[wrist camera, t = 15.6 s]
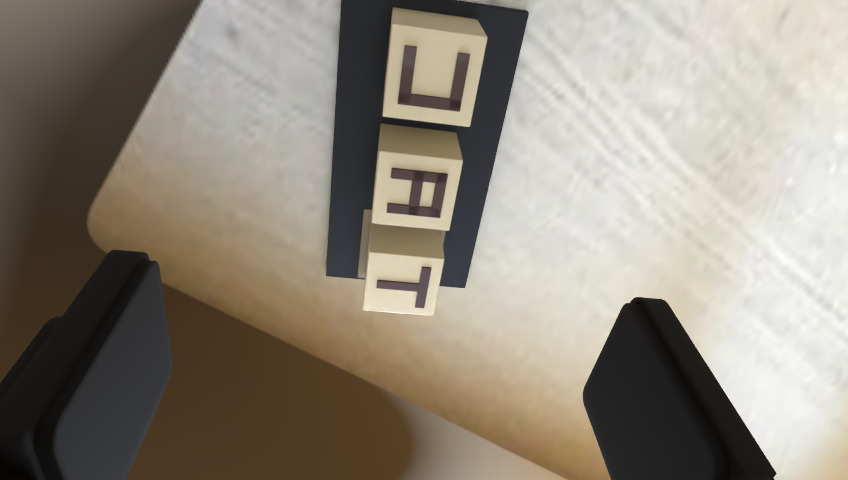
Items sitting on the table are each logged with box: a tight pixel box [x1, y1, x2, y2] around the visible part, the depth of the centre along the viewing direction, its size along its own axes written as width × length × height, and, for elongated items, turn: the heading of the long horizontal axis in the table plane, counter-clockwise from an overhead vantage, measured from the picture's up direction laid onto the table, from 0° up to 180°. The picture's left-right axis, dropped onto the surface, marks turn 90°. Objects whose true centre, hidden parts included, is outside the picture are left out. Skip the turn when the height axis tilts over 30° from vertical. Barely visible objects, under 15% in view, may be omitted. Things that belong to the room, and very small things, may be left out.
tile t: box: [363, 222, 444, 316], centre depth 36 cm, size 5×5×4 cm
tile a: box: [371, 124, 463, 231], centre depth 32 cm, size 5×5×4 cm
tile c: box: [382, 7, 488, 127], centre depth 29 cm, size 5×5×4 cm
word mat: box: [326, 0, 529, 288], centre depth 34 cm, size 10×19×1 cm, turn 172°
